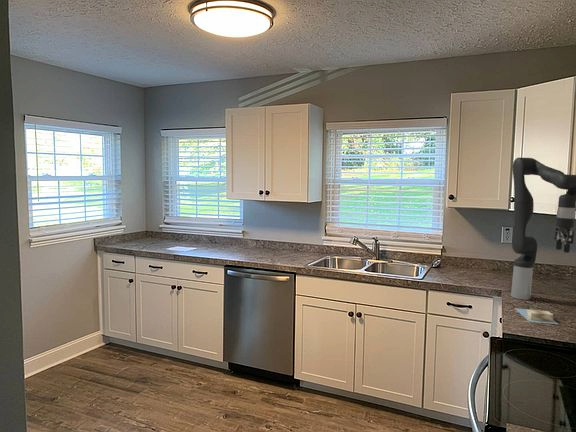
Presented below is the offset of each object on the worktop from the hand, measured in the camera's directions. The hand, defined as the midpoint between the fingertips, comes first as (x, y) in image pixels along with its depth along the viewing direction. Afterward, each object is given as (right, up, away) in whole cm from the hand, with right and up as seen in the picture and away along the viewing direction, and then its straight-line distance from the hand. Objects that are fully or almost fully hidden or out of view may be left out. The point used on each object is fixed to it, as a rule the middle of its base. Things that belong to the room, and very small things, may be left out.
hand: (562, 250), depth 209 cm
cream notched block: (-16, -30, -10) cm, 36 cm away
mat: (-16, -30, -5) cm, 34 cm away
